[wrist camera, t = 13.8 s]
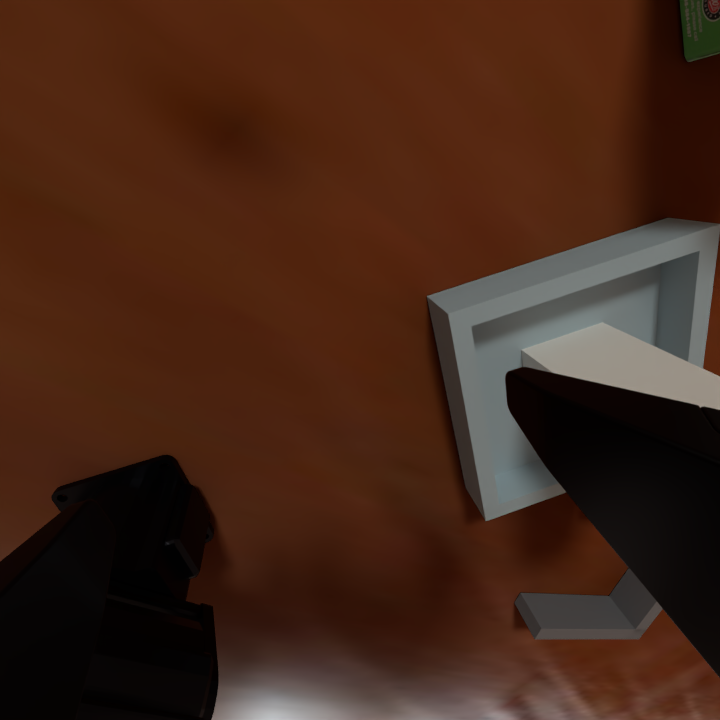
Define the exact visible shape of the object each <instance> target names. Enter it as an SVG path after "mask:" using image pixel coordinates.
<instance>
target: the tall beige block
mask: <svg viewBox="0 0 720 720" xmlns="http://www.w3.org/2000/svg"><path fill="white" fill-rule="evenodd" d="M521 352H522V362H523V367H529V368H533V369H538V370H542V371H547V372H551V373H556V374H560V375H565V376H569V377H574V378H578V379H583V380H587V381H592V382H596V383H601V384H605V385H610V386H614V387H619V388H623V389H628V390H632V391H637V392H641V393H646V394H650V395H655V396H659V397H664V398H668V399H673V400H678V401H682V402H687V403H691V404H696V405H698V406H699V407H700V408H701V407H703V406H705V407H709V408H714V409H718V410H720V377H719V376H717V375H715V374H713V373H711V372H709V371H707V370H704V369H702V368H700V367H698V366H696V365H694V364H691V363H689V362H687V361H685V360H683V359H681V358H678V357H676V356H674V355H672V354H670V353H668V352H666V351H663V350H661V349H659V348H657V347H655V346H653V345H650V344H648V343H646V342H644V341H642V340H640V339H637V338H635V337H633V336H631V335H629V334H627V333H625V332H622V331H620V330H618V329H616V328H614V327H612V326H609V325H607V324H605V323H603V322H602V323H599V324H596V325H593V326H590V327H587V328H584V329H581V330H578V331H575V332H572V333H569V334H566V335H563V336H560V337H558V338H555V339H552V340H549V341H546V342H543V343H540V344H537V345H534V346H531V347H528V348H525V349H522V350H521Z"/></svg>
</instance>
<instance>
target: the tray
mask: <svg viewBox="0 0 720 720" xmlns="http://www.w3.org/2000/svg"><path fill="white" fill-rule="evenodd" d="M719 234H720V224H716V223H708V222H700V221H692V220H684V219H675V218H665V219H662V220H659V221H656V222H653V223H650V224H647V225H644V226H641V227H638V228H635V229H632V230H628V231H625V232H622V233H619V234H616V235H613V236H610V237H607V238H604V239H601V240H598V241H595V242H592V243H589V244H586V245H582V246H579V247H576V248H573V249H570V250H567V251H564V252H561V253H558V254H555V255H552V256H549V257H546V258H543V259H540V260H536V261H533V262H530V263H527V264H524V265H521V266H518V267H515V268H512V269H509V270H506V271H503V272H500V273H497V274H494V275H490V276H487V277H484V278H481V279H478V280H475V281H472V282H469V283H466V284H463V285H460V286H457V287H454V288H451V289H448V290H444V291H441V292H438V293H435V294H432V295H429V296H427V300H428V305H429V310H430V315H431V320H432V325H433V330H434V334H435V339H436V344H437V349H438V354H439V359H440V364H441V369H442V374H443V379H444V384H445V389H446V394H447V398H448V403H449V408H450V413H451V418H452V423H453V428H454V433H455V438H456V443H457V448H458V453H459V458H460V462H461V467H462V472H463V477H464V482H465V487H466V489H467V491H468V493H469V494H470V496H471V498H472V499H473V501H474V503H475V504H476V506H477V507H478V509H479V511H480V512H481V514H482V516H483V517H484V519H485V521H488V520H491V519H494V518H497V517H499V516H502V515H505V514H508V513H510V512H513V511H516V510H519V509H522V508H524V507H527V506H530V505H533V504H535V503H538V502H541V501H544V500H547V499H549V498H552V497H555V496H558V495H560V494H563V493H566V491H565V490H564V489H563V488H562V486H561V485H560V484H559V483H558V482H557V480H556V479H555V478H554V477H553V475H552V474H551V473H550V472H549V470H548V469H547V468H546V466H545V465H544V464H543V462H542V461H541V459H540V458H539V456H538V455H537V453H536V452H535V450H534V449H533V447H532V445H531V444H530V442H529V441H528V439H527V438H526V436H525V435H524V433H523V432H522V430H521V429H520V427H519V426H518V424H517V422H516V421H515V419H514V418H513V416H512V415H511V413H510V411H509V409H508V405H507V396H506V384H505V375H506V373H507V372H508V371H510V370H514V369H517V368H520V367H523V362H522V352H521V350H522V349H525V348H528V347H531V346H534V345H537V344H540V343H543V342H546V341H549V340H552V339H555V338H558V337H560V336H563V335H566V334H569V333H572V332H575V331H578V330H581V329H584V328H587V327H590V326H593V325H596V324H599V323H602V322H603V323H605V324H607V325H609V326H612V327H614V328H616V329H618V330H620V331H622V332H625V333H627V334H629V335H631V336H633V337H635V338H637V339H640V340H642V341H644V342H646V343H648V344H650V345H653V346H655V347H657V348H659V349H661V350H663V351H666V352H668V353H670V354H672V355H674V356H676V357H678V358H681V359H683V360H685V361H687V362H689V363H691V364H694V365H696V366H698V367H700V368H702V369H703V362H704V354H705V346H706V338H707V330H708V322H709V314H710V306H711V298H712V290H713V282H714V274H715V266H716V258H717V250H718V242H719Z"/></svg>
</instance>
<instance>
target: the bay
mask: <svg viewBox="0 0 720 720" xmlns="http://www.w3.org/2000/svg"><path fill="white" fill-rule="evenodd" d="M515 605H516V607H517V608H518V610H519V612H520V614H521V616H522V617H523V619H524V621H525V623H526V625H527V626H528V628H529V630H530V632H531V634H532V635H533V637H534V639H639V638H640V637H641V636H642V634H643V633H644V632H645V631H646V629H647V628H648V627H649V625H650V624H651V623H652V622H653V620H654V619H655V618H656V617H657V615H658V614H659V613H660V611H661V610H662V607H661V606H660V605H659V604H658V602H657V601H656V600H655V599H654V598H653V596H652V595H651V594H650V593H649V592H648V590H647V589H646V588H645V587H644V586H643V584H642V583H641V582H640V581H639V579H638V578H637V577H636V576H635V575H634V573H633V572H632V571H631V570H630V569H629V568H628V570H627V571H626V573H625V574H624V575H623V577H622V578H621V580H620V581H619V583H618V584H617V585H616V587H615V588H614V590H613V591H612V593H611V594H610V595H609V596H595V595H568V594H541V593H520V594H519V596H518V598H517V599H516V601H515Z"/></svg>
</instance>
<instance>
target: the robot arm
mask: <svg viewBox="0 0 720 720" xmlns="http://www.w3.org/2000/svg"><path fill="white" fill-rule="evenodd" d="M505 384H506V396H507V405H508V409H509V411H510V413H511V415H512V416H513V418H514V419H515V421H516V422H517V424H518V426H519V427H520V429H521V430H522V432H523V433H524V435H525V436H526V438H527V439H528V441H529V442H530V444H531V445H532V447H533V449H534V450H535V452H536V453H537V455H538V456H539V458H540V459H541V461H542V462H543V464H544V465H545V466H546V468H547V469H548V470H549V472H550V473H551V474H552V475H553V477H554V478H555V479H556V480H557V482H558V483H559V484H560V485H561V486H562V488H563V489H564V490H565V491H566V492H567V494H568V495H569V496H570V497H571V498H572V500H573V501H574V502H575V503H576V504H577V506H578V507H579V508H580V509H581V511H582V512H583V513H584V514H585V515H586V517H587V518H588V519H589V520H590V521H591V523H592V524H593V525H594V526H595V527H596V529H597V530H598V531H599V532H600V534H601V535H602V536H603V537H604V538H605V540H606V541H607V542H608V543H609V544H610V546H611V547H612V548H613V549H614V550H615V552H616V553H617V554H618V555H619V557H620V558H621V559H622V560H623V561H624V563H625V564H626V565H627V566H628V567H629V569H630V570H631V571H632V572H633V573H634V575H635V576H636V577H637V578H638V579H639V581H640V582H641V583H642V584H643V586H644V587H645V588H646V589H647V590H648V592H649V593H650V594H651V595H652V596H653V598H654V599H655V600H656V601H657V602H658V604H659V605H660V606H661V607H662V609H663V610H664V611H665V612H666V613H667V615H668V616H669V617H670V618H671V619H672V621H673V622H674V623H675V624H676V625H677V627H678V628H679V629H680V630H681V631H682V633H683V634H684V635H685V636H686V638H687V639H688V640H689V641H690V642H691V644H692V645H693V646H694V647H695V648H696V650H697V651H698V652H699V653H700V654H701V656H702V657H703V658H704V659H705V661H706V662H707V663H708V664H709V665H710V667H711V668H712V669H713V670H714V671H715V673H716V674H717V675H718V676H719V677H720V410H718V409H714V408H709V407H705V406H703V407H701V408H700V407H699V406H698V405H696V404H691V403H687V402H682V401H678V400H673V399H668V398H664V397H659V396H655V395H650V394H646V393H641V392H637V391H632V390H628V389H623V388H619V387H614V386H610V385H605V384H601V383H596V382H592V381H587V380H583V379H578V378H574V377H569V376H565V375H560V374H556V373H551V372H547V371H542V370H538V369H533V368H529V367H520V368H517V369H514V370H510V371H508V372H507V373H506V375H505ZM162 463H167V464H168V465H169V466H164V465H162ZM62 494H63V495H66V496H67V497H64V496H62ZM52 501H53V502H54V503H55V505H56V506H57V507H58V509H59V510H60V511H61V513H59V514H58V515H57V516H56V517H55V518H53V519H52V520H51V521H50V522H48V523H47V524H46V525H45V526H44V527H42V528H41V529H40V530H39V531H37V532H36V533H35V534H34V535H32V536H31V537H30V538H29V539H28V540H26V541H25V542H24V543H23V544H21V545H20V546H19V547H18V548H16V549H15V550H14V551H13V552H12V553H10V554H9V555H8V556H7V557H5V558H4V559H3V560H2V561H1V562H0V720H211V719H212V715H213V712H214V707H215V702H216V697H217V690H218V662H217V651H216V639H215V627H214V615H213V606H210V605H207V604H203V603H201V604H200V605H198V604H195V603H191V602H187V601H186V597H187V592H188V587H189V582H190V579H191V578H194V577H197V575H198V573H199V572H200V568H201V562H202V557H203V551H204V546H205V543H206V542H209V541H211V540H212V538H213V534H214V529H213V527H212V525H211V523H210V521H209V518H210V515H209V513H208V511H207V509H206V507H205V506H204V504H203V502H202V500H201V498H200V496H199V495H198V493H197V491H196V489H195V487H194V486H193V485H191V484H189V483H188V482H187V480H186V478H185V476H184V474H183V473H182V471H181V469H180V467H179V465H178V463H177V462H176V460H175V459H174V457H172V456H170V455H162V456H159V457H155V458H152V459H149V460H145V461H142V462H139V463H136V464H132V465H129V466H126V467H122V468H119V469H116V470H113V471H109V472H106V473H103V474H99V475H96V476H93V477H89V478H86V479H83V480H80V481H76V482H73V483H70V484H66V485H63V486H60V487H58V488H57V489H56V490H55V492H54V493H53V495H52Z"/></svg>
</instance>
